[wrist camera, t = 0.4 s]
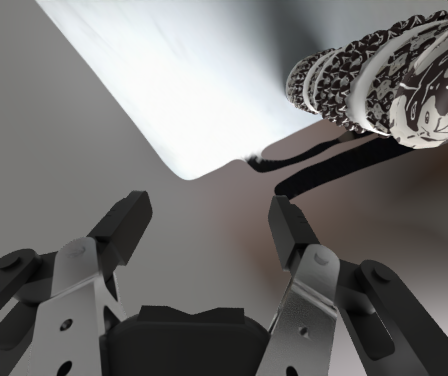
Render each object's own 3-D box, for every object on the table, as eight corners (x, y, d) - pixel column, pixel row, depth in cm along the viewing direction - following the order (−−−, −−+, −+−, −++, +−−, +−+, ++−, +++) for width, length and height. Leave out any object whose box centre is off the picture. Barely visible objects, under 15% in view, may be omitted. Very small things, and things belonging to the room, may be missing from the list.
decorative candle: (344, 54, 28) (703, -30, 7) (322, 112, 33) (491, 166, 12) (292, 48, 28) (502, -56, 7) (278, 108, 33) (371, 157, 12)
